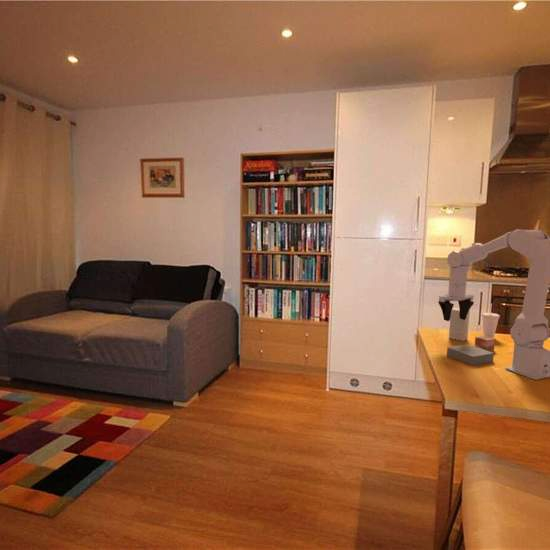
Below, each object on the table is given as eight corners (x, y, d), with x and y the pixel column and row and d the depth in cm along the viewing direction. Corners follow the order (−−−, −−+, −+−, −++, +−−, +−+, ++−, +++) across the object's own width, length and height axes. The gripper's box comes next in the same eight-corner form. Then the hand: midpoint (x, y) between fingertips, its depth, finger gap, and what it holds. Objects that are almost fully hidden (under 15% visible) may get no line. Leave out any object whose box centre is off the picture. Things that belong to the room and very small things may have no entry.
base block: (493, 361, 124) (493, 352, 124) (472, 365, 120) (473, 356, 120) (466, 352, 133) (467, 344, 133) (446, 355, 129) (447, 347, 129)
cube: (493, 350, 136) (495, 338, 135) (485, 352, 134) (486, 340, 133) (482, 347, 140) (483, 335, 139) (474, 348, 138) (475, 336, 137)
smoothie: (492, 335, 155) (496, 302, 153) (500, 340, 149) (504, 305, 147) (476, 334, 156) (479, 302, 154) (483, 339, 149) (487, 305, 148)
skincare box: (467, 339, 149) (470, 310, 147) (464, 341, 146) (467, 311, 144) (451, 336, 153) (453, 307, 151) (448, 338, 150) (450, 309, 148)
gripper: (463, 281, 144) (461, 316, 145) (433, 283, 139) (431, 318, 140) (479, 284, 137) (476, 320, 139) (448, 285, 132) (445, 323, 134)
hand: (454, 319), depth 139 cm, fingers open, 7 cm apart
